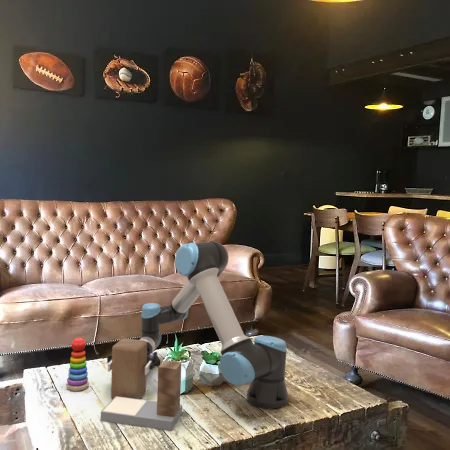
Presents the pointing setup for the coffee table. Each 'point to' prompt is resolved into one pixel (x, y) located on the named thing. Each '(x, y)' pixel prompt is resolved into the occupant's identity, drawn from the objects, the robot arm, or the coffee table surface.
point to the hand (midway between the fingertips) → (127, 369)
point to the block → (129, 368)
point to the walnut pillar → (169, 388)
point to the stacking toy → (78, 367)
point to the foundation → (137, 413)
